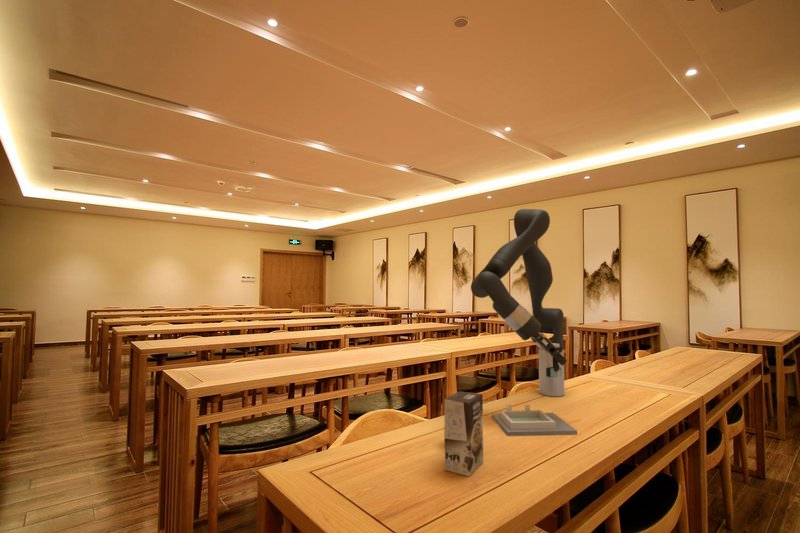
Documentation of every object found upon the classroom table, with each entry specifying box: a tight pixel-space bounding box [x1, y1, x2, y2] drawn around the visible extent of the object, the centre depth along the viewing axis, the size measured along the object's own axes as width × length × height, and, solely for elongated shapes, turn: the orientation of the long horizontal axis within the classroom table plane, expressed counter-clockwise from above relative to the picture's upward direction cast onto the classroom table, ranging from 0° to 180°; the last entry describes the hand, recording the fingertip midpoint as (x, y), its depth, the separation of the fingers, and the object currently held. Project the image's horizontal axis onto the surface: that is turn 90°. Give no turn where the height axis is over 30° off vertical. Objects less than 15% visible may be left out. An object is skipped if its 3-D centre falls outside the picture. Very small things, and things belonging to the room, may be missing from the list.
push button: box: [546, 343, 564, 378], centre depth 124 cm, size 7×5×10 cm
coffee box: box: [443, 390, 484, 477], centre depth 93 cm, size 9×6×16 cm
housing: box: [491, 404, 578, 437], centre depth 120 cm, size 16×20×4 cm
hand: (561, 361), depth 123 cm, fingers closed on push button, 5 cm apart
